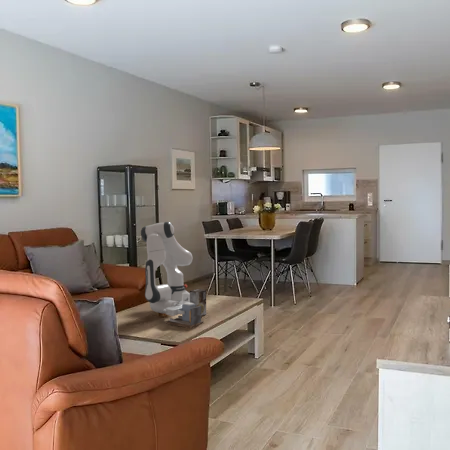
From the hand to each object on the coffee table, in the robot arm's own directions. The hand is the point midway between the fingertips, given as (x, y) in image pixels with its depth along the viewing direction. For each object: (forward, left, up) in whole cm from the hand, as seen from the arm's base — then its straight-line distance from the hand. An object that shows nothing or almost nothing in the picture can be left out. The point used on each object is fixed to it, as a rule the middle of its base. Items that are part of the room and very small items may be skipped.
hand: (189, 311), depth 307 cm
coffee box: (-21, -10, -8) cm, 25 cm away
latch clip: (0, +3, -7) cm, 7 cm away
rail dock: (0, -4, -8) cm, 9 cm away
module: (0, -1, -7) cm, 7 cm away
